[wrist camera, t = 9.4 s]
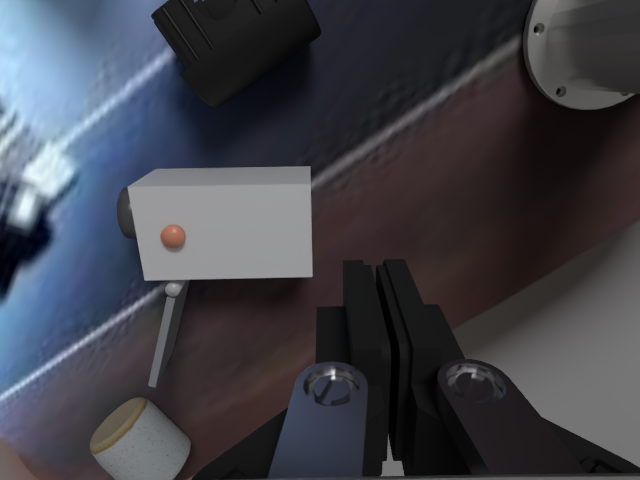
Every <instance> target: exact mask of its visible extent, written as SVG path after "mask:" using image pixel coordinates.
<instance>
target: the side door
mask: <svg viewBox="0 0 640 480" xmlns="http://www.w3.org/2000/svg"><path fill="white" fill-rule="evenodd" d="M189 281H190V280H170V282H169V283H168V285H167V286H166V288H165V291H166V293H167V294H168V296H167V300H166V304H165V309H164V314H163V319H162V323H161V328H160V333H159V337H158V342H157V347H156V351H155V356H154V361H153V365H152V370H151V375H150V379H149V384H148V386H151V387H156V386H157V383H158V381H159V379H160V377H161V375H162V373H163V371H164V369H165V367H166V365H167V363H168V361H169V359H170V357H171V355H172V353H173V350H174V346H175V341H176V337H177V333H178V328H179V324H180V320H181V316H182V311H183V307H184V303H185V298H186V294H187V290H188V285H189Z"/></svg>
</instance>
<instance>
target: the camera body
mask: <svg viewBox="0 0 640 480" xmlns="http://www.w3.org/2000/svg"><path fill="white" fill-rule="evenodd" d="M117 217H118V223H119V226H120V229H121V231H122V233H123V235H124V236H125V237H127V238H137V241H138V247H139V252H140V258H141V263H142V268H143V274H144V279H145V281H146V280H193V279H240V278H287V277H312V224H311V175H310V166H305V167H245V168H184V169H155V170H154V171H152V172H151V173H149V174H147V175H146V176H144V177H143V178H141V179H139V180H138V181H136V182H135V183H133V184H131V185H130V186H128V187H125V188H123V189H122V190H121V192H120V194H119V198H118V203H117Z"/></svg>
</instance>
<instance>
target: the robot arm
mask: <svg viewBox="0 0 640 480" xmlns="http://www.w3.org/2000/svg"><path fill="white" fill-rule="evenodd" d="M534 27H536V32H535V33H534ZM523 53H524V59H525V65H526V68H527V70H528V73H529V76H530V78H531V80H532V81H533V83H534V84H535V86H536V87H537V89H538V90H539V91H540V92H541V93H542V94H543V95H544V96H545V97H546V98H548V99H550V100H551V101H553V102H555V103H556V104H558V105H562V106H565V107H568V108H573V109H580V110H596V109H601V108H606V107H610V106H613V105H615V104H618V103H620V102H623V101H625V100H626V99H628V98H630V97H632V96H633V95H635V94H640V0H533V1H532V4H531V7H530V10H529V12H528V15H527V18H526V23H525V28H524V33H523ZM557 89H558V92H557V93H556V90H557ZM388 435H389V440H390V446H391V452H392V457H393V460H394V461H402V465H403V470H404V475H405V476H380V475H381V474H382V461H386V460H387V443H388ZM192 480H640V468H639V467H637V466H636V465H634V464H632V463H631V462H629V461H627V460H625V459H623V458H621V457H619V456H617V455H615V454H614V453H612V452H609V451H607V450H605V449H604V448H602V447H600V446H598V445H596V444H594V443H592V442H590V441H588V440H586V439H584V438H582V437H580V436H578V435H576V434H574V433H572V432H570V431H568V430H566V429H564V428H562V427H560V426H558V425H556V424H554V423H552V422H550V421H548V420H546V419H544V418H542V417H541V416H540V415H539V414H538V412H537V411H536V410H535V409H534V408H533V406H532V405H531V404H530V403H529V401H528V400H527V399H526V398H525V397H524V395H523V394H522V393H521V392H520V391H519V389H518V388H517V387H516V386H515V385H514V383H513V382H512V381H511V380H510V378H509V377H508V376H506V375H505V374H504V373H503V372H502V371H501V370H499V369H498V368H496V367H494V366H492V365H490V364H487V363H485V362H482V361H478V360H472V359H465V357H464V355H463V353H462V351H461V349H460V347H459V345H458V343H457V341H456V339H455V337H454V335H453V333H452V331H451V329H450V327H449V325H448V323H447V321H446V319H445V316H444V314H443V312H442V310H441V308H440V307H439V305H437V304H426V305H424V304H423V301H422V299H421V297H420V294H419V292H418V290H417V287H416V285H415V283H414V280H413V278H412V276H411V273H410V271H409V269H408V266H407V264H406V262H405V260H404V259H391V260H384V262H383V265H377V266H376V284H375V280H374V276H373V272H372V268H371V265H364V262H363V260H348V261H343V306H333V307H317V325H316V364H315V365H313V366H311V367H309V368H307V369H306V370H305V371H303V372H302V373H301V374H300V376H299V377H298V379H297V381H296V384H295V387H294V391H293V394H292V397H291V401H290V404H289V407H288V408H286V409H285V410H284V411H282V412H281V413H279V414H278V415H277V416H275V417H274V418H272V419H271V420H270V421H268V422H267V423H265V424H264V425H263V426H261V427H260V428H258V429H257V430H256V431H254V432H253V433H251V434H250V435H249V436H247V437H246V438H244V439H243V440H242V441H240V442H239V443H237V444H236V445H235V446H233V447H232V448H230V449H229V450H228V451H226V452H225V453H223V454H222V455H221V456H219V457H218V458H216V459H215V460H214V461H212V462H211V463H209V464H208V465H207V466H205V467H204V468H203V469H202V470H200V471H199V472H198V473H197V474H196V475H195V476H194V477H193V478H192Z"/></svg>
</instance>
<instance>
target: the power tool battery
mask: <svg viewBox="0 0 640 480" xmlns="http://www.w3.org/2000/svg"><path fill="white" fill-rule="evenodd" d="M151 17H152V19H153V20H154V23H155V25H156V26H157V28H158V29H159V31H160V32H161V34H162V35H163V36H164V38H165V39H166V41H167V42H168V44H169V45H170V46H171V48H172V49H173V51H174V52H175V54H176V55H177V56H178V58H179V59H180V61H181V62H182V63H183V65H184V66H185V68H186V70H184V71H183V72H181V73H180V75H181V77H182V78H183V79H184V81H185V82H186V83H187V84H188V86H189V87H190V88H191V89H192V90H193V92H194V93H195V94H196V95H197V96H198V97H199V98H200V99H201V100H202V101H203V102H205V103H206V104H207V105H209V106H210V107H212V108H218V107H220V106H221V105H223V104H224V103H225V102H227V101H228V100H230V99H231V98H232V97H234V96H235V95H237V94H238V93H240V92H241V91H242V90H244V89H245V88H247V87H248V86H250V85H251V84H252V83H254V82H255V81H257V80H258V79H259V78H261V77H262V76H264V75H265V74H267V73H268V72H269V71H271V70H272V69H274V68H275V67H276V66H278V65H279V64H281V63H282V62H284V61H285V60H286V59H288V58H289V57H291V56H292V55H294V54H295V53H296V52H298V51H299V50H301V49H302V48H303V47H305V46H306V45H308V44H309V43H311V42H312V41H313V40H315V39H316V38H318V37H319V36H320V35H321V29H320V27H319V24H318V22H317V20H316V18H315V16H314V14H313V12H312V10H311V8H310V6H309V4H308V2H307V0H204V1H203V2H202V0H198V1H197V2H196V3H195V2H194V1H193V0H169V1H167V2H166V3H165V4H163V5H162V6H161V7H160V8H158V9H157V10H156V11H155V12H154V13H153V14H152V15H151Z"/></svg>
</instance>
